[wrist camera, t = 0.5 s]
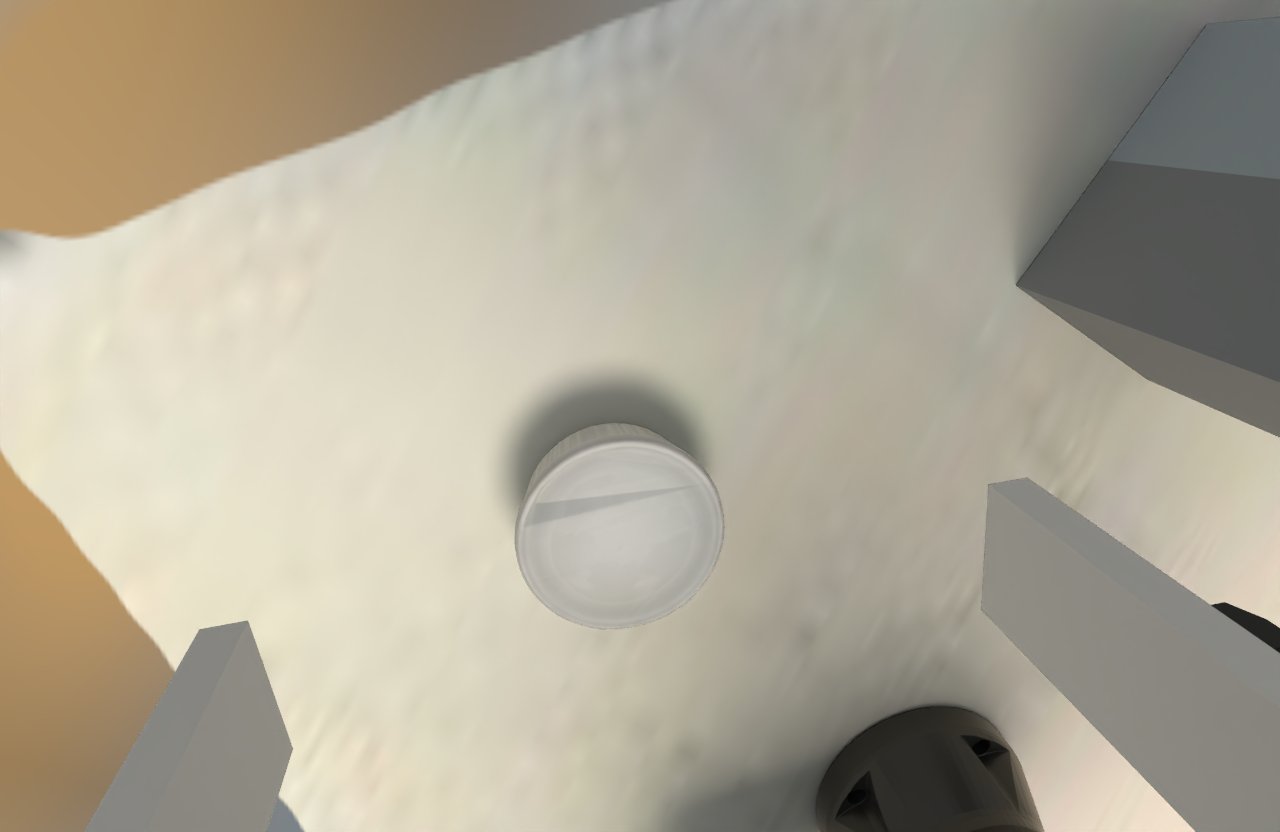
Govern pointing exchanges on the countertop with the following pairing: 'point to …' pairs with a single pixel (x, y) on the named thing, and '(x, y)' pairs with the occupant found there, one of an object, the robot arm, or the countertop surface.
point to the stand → (1187, 232)
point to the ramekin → (618, 527)
